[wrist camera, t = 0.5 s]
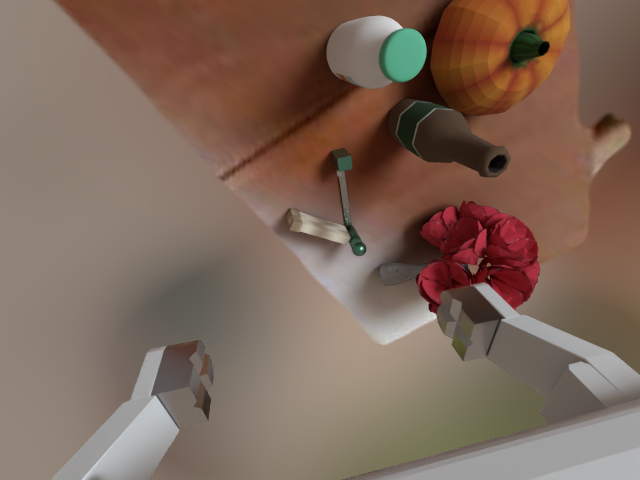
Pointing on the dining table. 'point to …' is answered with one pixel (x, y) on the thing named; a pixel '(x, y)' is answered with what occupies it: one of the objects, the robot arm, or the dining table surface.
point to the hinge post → (355, 241)
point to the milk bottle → (375, 52)
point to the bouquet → (473, 255)
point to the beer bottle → (444, 137)
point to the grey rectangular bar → (317, 227)
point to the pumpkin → (496, 51)
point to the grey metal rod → (344, 199)
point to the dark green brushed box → (341, 160)
